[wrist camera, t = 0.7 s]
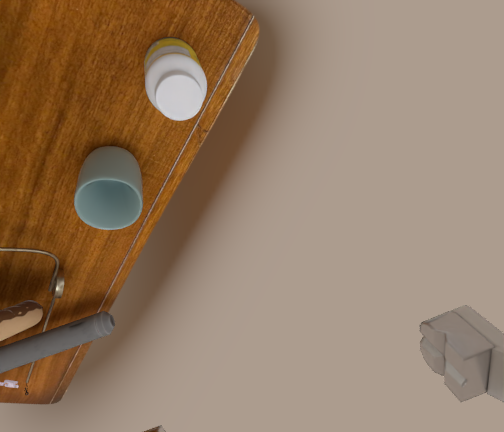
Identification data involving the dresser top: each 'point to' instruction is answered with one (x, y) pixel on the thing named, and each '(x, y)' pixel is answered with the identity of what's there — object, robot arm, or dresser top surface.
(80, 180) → the cup
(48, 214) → the dresser top surface
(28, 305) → the donut
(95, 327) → the flashlight
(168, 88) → the pill bottle
